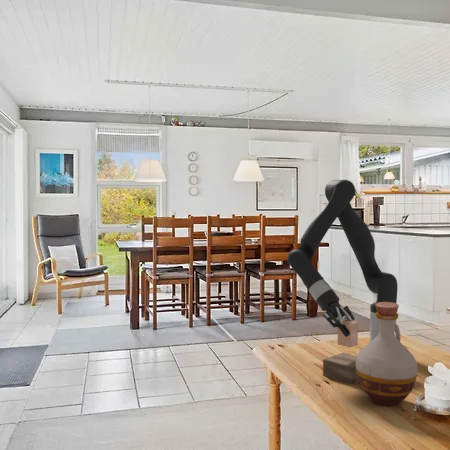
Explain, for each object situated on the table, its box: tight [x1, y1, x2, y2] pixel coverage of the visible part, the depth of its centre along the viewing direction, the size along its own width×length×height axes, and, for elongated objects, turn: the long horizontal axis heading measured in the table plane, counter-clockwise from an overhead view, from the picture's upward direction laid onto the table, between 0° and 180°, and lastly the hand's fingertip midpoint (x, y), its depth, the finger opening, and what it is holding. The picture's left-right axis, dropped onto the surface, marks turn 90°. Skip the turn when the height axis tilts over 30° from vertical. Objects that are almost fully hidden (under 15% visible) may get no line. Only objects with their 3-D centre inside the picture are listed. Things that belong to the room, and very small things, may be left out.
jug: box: [356, 302, 418, 408], centre depth 147 cm, size 20×18×30 cm
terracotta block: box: [337, 319, 359, 348], centre depth 169 cm, size 5×5×8 cm
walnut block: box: [322, 352, 360, 386], centre depth 169 cm, size 12×12×6 cm
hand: (352, 333), depth 167 cm, fingers closed on terracotta block, 5 cm apart
